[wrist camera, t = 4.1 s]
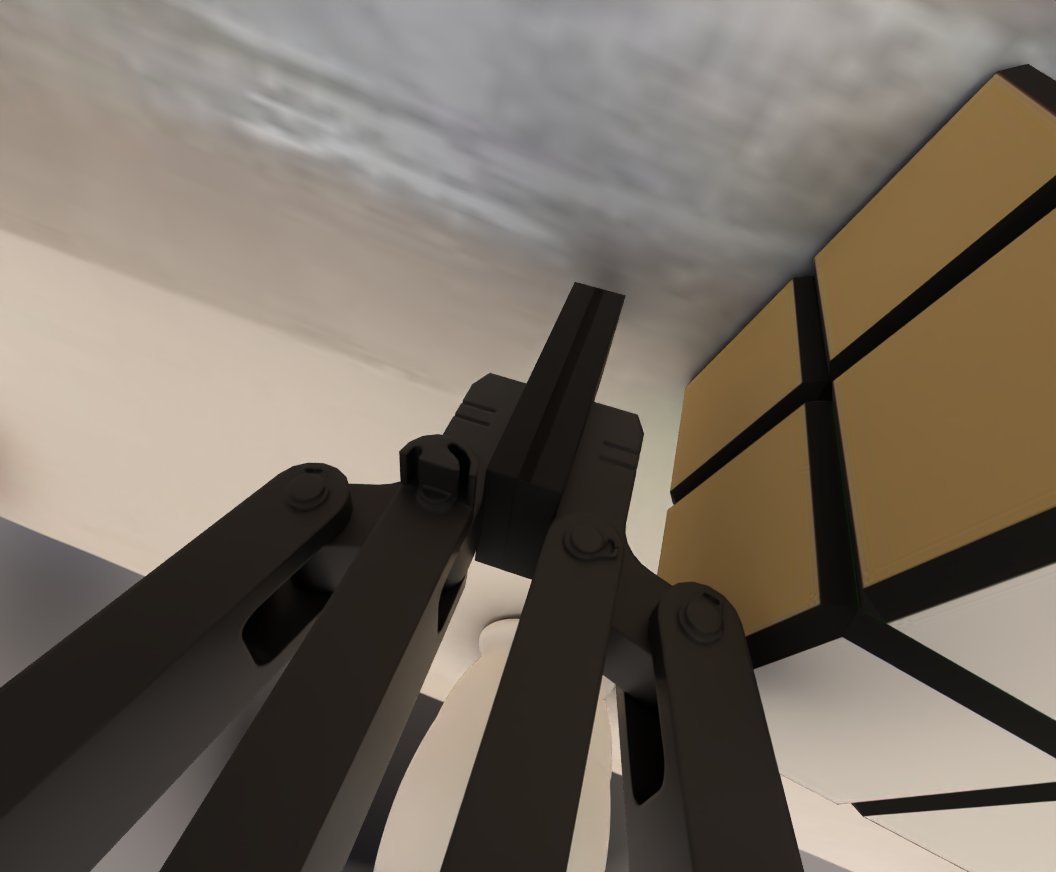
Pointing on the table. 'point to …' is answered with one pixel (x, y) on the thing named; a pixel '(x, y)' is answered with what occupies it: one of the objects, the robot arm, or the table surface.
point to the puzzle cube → (902, 495)
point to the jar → (449, 758)
